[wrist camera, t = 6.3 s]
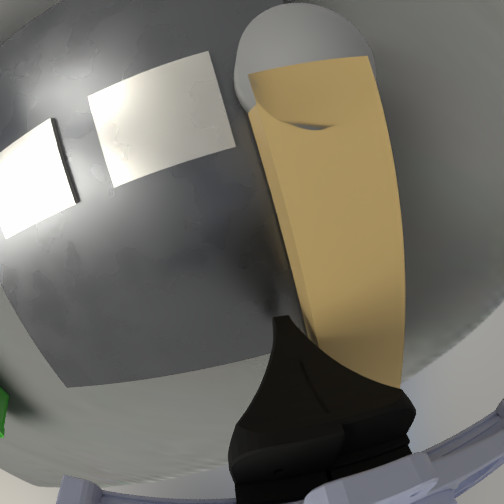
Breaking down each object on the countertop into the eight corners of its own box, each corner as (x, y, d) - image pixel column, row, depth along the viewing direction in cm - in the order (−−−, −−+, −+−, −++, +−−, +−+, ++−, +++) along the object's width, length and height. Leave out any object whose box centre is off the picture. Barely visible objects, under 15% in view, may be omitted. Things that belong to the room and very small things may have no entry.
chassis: (80, 359, 17) (64, 392, 14) (-20, 94, 10) (-55, 94, 7) (342, 296, 17) (365, 329, 14) (259, -34, 10) (268, -68, 6)
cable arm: (220, 46, 9) (219, 15, 6) (322, 28, 9) (352, -1, 6) (317, 396, 15) (331, 436, 13) (379, 373, 15) (400, 408, 13)
